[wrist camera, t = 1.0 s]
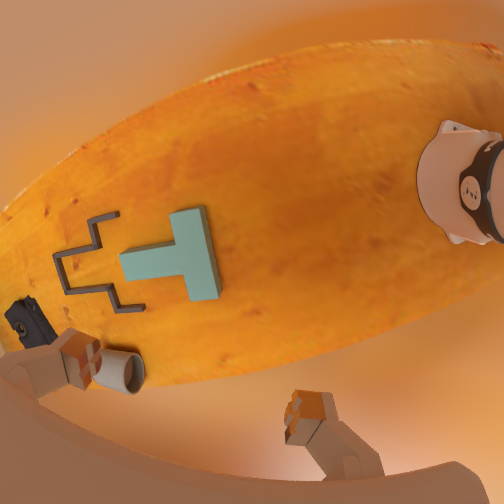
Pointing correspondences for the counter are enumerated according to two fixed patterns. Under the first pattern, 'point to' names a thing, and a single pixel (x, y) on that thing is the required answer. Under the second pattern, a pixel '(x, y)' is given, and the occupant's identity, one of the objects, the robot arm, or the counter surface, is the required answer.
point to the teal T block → (179, 256)
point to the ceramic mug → (120, 371)
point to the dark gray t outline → (95, 288)
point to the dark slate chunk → (30, 323)
